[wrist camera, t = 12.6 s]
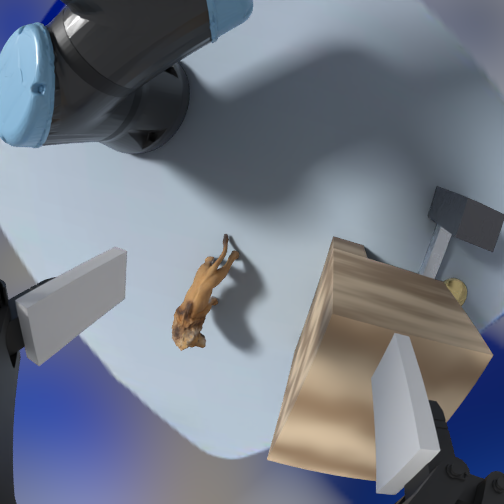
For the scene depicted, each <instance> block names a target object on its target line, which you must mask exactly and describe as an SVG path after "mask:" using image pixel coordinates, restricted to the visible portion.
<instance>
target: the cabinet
mask: <svg viewBox="0 0 504 504" xmlns="http://www.w3.org/2000/svg"><path fill="white" fill-rule="evenodd" d="M394 333H397V334H401V335H405V336H409V338H410V341H411V344H412V347H413V350H414V353H415V356H416V359H417V362H418V366H419V369H420V372H421V376H422V379H423V383H424V386H425V390H426V393H427V397H428V400H432V401H437V403H438V404H439V406H440V407H441V408H442V410H443V412H444V416H445V419H446V421H445V422H447V421H448V420H449V419H450V417H451V416H452V415H453V414H454V412H455V411H456V410H457V408H458V407H459V406H460V404H461V403H462V402H463V400H464V399H465V397H466V396H467V395H468V393H469V392H470V390H471V389H472V387H473V386H474V385H475V383H476V382H477V380H478V378H479V377H480V375H481V374H482V372H483V371H484V369H485V368H486V366H487V364H488V363H489V361H490V360H491V358H492V356H493V354H492V352H491V351H490V349H489V348H488V346H487V344H486V343H485V341H484V340H483V338H482V337H481V335H480V333H479V332H478V330H477V329H476V327H475V326H474V324H473V323H472V321H471V320H470V318H469V317H468V316H467V314H466V313H465V311H464V310H463V308H462V307H461V305H460V304H459V303H458V301H457V300H456V298H455V297H454V296H453V294H452V293H451V292H450V290H449V289H448V287H447V286H446V285H445V283H444V282H442V281H439V280H436V279H433V278H430V277H426V276H423V275H420V274H417V273H414V272H411V271H407V270H404V269H401V268H398V267H395V266H391V265H388V264H385V263H382V262H378V261H375V260H372V259H368V258H367V255H366V252H365V249H364V246H363V245H360V244H357V243H354V242H350V241H347V240H344V239H340V238H337V237H334V236H333V239H332V242H331V246H330V249H329V252H328V255H327V258H326V262H325V265H324V268H323V271H322V274H321V277H320V280H319V283H318V286H317V289H316V292H315V295H314V298H313V301H312V304H311V307H310V310H309V313H308V316H307V319H306V322H305V324H304V327H303V330H302V333H301V336H300V338H299V341H298V344H297V347H296V349H295V352H294V357H293V361H292V365H291V370H290V374H289V378H288V382H287V386H286V390H285V394H284V398H283V402H282V406H281V410H280V414H279V418H278V421H277V425H276V429H275V433H274V436H273V440H272V443H271V447H270V451H269V454H268V458H267V460H270V461H274V462H278V463H281V464H286V465H290V466H294V467H298V468H302V469H307V470H312V471H316V472H321V473H327V474H332V475H338V476H344V477H351V478H357V479H364V480H373V481H376V444H375V423H374V408H373V395H372V384H371V377H372V376H373V374H374V372H375V370H376V368H377V367H378V365H379V363H380V361H381V359H382V357H383V355H384V353H385V351H386V349H387V347H388V345H389V343H390V341H391V339H392V337H393V335H394Z"/></svg>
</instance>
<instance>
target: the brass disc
mask: <svg viewBox="0 0 504 504" xmlns="http://www.w3.org/2000/svg"><path fill="white" fill-rule="evenodd" d="M444 283H445V285H446V286H447V287H448V289H449V290H450V292H451V293H452V294H453V296H454V297H455V298H456V300H457V301H458V303H459V304H460V305H461V306H462V305H463V303H464V302H465V300H466V297H467V288H466V286H465V284H464V283H463V282H462V281H461V280H459V279H457V278H450V279H447V280H445V281H444Z"/></svg>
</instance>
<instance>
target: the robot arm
mask: <svg viewBox="0 0 504 504" xmlns="http://www.w3.org/2000/svg"><path fill="white" fill-rule="evenodd" d="M61 1H62V2H64V3H65V4H66V5H67V6H66V7H65V8H64V9H63V10H62V11H61V12H60V13H59V14H58V15H57V16H56V17H55V18H54V19H53V20H52V21H51V22H50V23H49V24H48V25H47V26H44V25H43V24H41V23H34V24H28V25H27V26H22V27H20V28H19V29H18V30H16V31H15V32H14V33H13V35H12V36H11V37H10V38H9V40H8V41H7V42H6V44H5V46H4V48H3V50H2V52H1V54H0V138H1V139H2V140H3V141H4V142H5V143H8V144H9V145H11V146H14V147H32V148H39V147H41V146H45V145H56V144H68V143H83V142H100V143H102V144H104V145H106V146H108V147H110V148H112V149H114V150H116V151H119V152H122V153H144V152H149V151H152V150H154V149H156V148H158V147H160V146H162V145H163V144H164V143H166V142H167V141H168V140H169V139H170V138H171V137H172V136H173V135H174V134H175V133H176V131H177V130H178V128H179V127H180V125H181V123H182V121H183V119H184V117H185V114H186V111H187V108H188V103H189V84H188V80H187V77H186V74H185V72H184V70H183V68H182V67H181V65H180V64H179V63H178V62H179V61H180V60H182V59H183V58H185V57H187V56H188V55H190V54H192V53H193V52H195V51H197V50H198V49H200V48H202V47H203V46H205V45H207V44H209V43H210V42H212V43H214V42H216V41H217V39H218V37H220V36H221V35H223V34H225V33H226V32H228V31H230V30H231V29H233V28H235V27H237V26H238V25H240V24H242V23H243V22H245V21H246V20H247V19H248V18H249V17H250V15H251V13H252V10H253V0H61ZM126 263H127V251H126V250H123V249H120V248H118V247H114V248H112V249H110V250H108V251H106V252H104V253H102V254H100V255H98V256H96V257H94V258H92V259H90V260H88V261H86V262H84V263H82V264H80V265H78V266H76V267H74V268H73V269H71V270H69V271H67V272H65V273H63V274H61V275H59V276H58V277H54V278H50V279H46V280H44V281H42V282H40V283H38V284H37V285H35V286H33V287H31V288H30V289H27V290H25V291H24V292H22V293H20V294H18V295H16V296H15V297H13V298H11V299H10V300H8V295H7V289H6V284H5V282H4V281H2V280H0V504H16V500H15V496H14V484H13V483H14V482H13V424H14V423H13V422H14V407H15V397H16V387H17V379H18V371H19V364H20V351H19V350H20V349H22V348H23V347H24V346H25V350H26V354H27V358H29V359H30V360H31V361H33V362H34V363H35V364H37V365H38V366H40V365H41V364H43V363H44V362H45V361H46V360H47V359H49V358H50V357H51V356H52V355H53V354H55V353H56V352H57V351H59V350H60V349H61V348H62V347H64V346H65V345H66V344H67V343H69V342H70V341H71V340H72V339H74V338H75V337H76V336H77V335H79V334H80V333H81V332H83V331H84V330H85V329H86V328H88V327H89V326H90V325H92V324H93V323H94V322H95V321H97V320H98V319H99V318H101V317H102V316H103V315H104V314H106V313H107V312H108V311H110V310H111V309H112V308H114V307H115V306H116V305H117V304H119V303H120V302H121V301H123V300H124V299H125V285H126ZM371 384H372V395H373V408H374V423H375V444H376V493H381V494H393V495H395V494H396V493H398V492H399V491H400V490H401V489H402V488H403V487H404V488H405V496H404V497H402V498H401V499H400V500H399V501H397V502H396V503H395V504H504V474H503V473H501V472H498V471H495V472H491V473H490V474H489V475H488V476H487V477H486V478H485V479H483V478H480V477H477V476H474V475H471V474H470V472H469V468H468V467H467V465H466V464H465V463H464V462H463V461H462V460H461V459H459V458H457V457H455V454H454V450H453V446H452V442H451V438H450V434H449V431H448V430H447V429H448V427H447V423H446V422H445V421H446V419H445V416H444V412H443V410H442V408H441V407H440V406H439V404H438V403H437V401H432V400H428V397H427V393H426V390H425V386H424V383H423V379H422V376H421V372H420V369H419V366H418V362H417V359H416V356H415V353H414V350H413V347H412V344H411V341H410V338H409V336H405V335H401V334H397V333H394V335H393V337H392V339H391V341H390V343H389V345H388V347H387V349H386V351H385V353H384V355H383V357H382V359H381V361H380V363H379V365H378V367H377V368H376V370H375V372H374V374H373V376H372V377H371Z"/></svg>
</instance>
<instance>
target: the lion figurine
mask: <svg viewBox="0 0 504 504" xmlns="http://www.w3.org/2000/svg"><path fill="white" fill-rule="evenodd" d="M228 241H229V239H228V235H227V234H224V239H223V245H224V248H223V252H222V254H221V255H220V257H219V258H218V259H217V260H216V262H215V263H214V264H213V262H214V257H207V258H206V259H205V263H204V264H202V265H201V266H200V268H199V269H198V271H197V273H196V276H195V278H194V282H193V284H192V286H191V287H190V289H189V290H188V292H187V294H186V296H185V299H184V302H183V303H182V304H181V306H179V307H178V308H177V309H176V312H175V314H174V321H173V325H172V329H173V330H172V339H173V340H174V342H175V344H176V346H178V347H179V348H180V350H181V351H182V350H184V349H186V348H188V347H194V346H197V347H201V348H204V347H205V343H206V339H205V336H204V335H203V334H201V333H200V331H201V330H202V325H203V323H204V320H205V317H206V314H207V313H208V312H209V311H210V309H211V307H212V305H216V304H218V301H217V299H216V298H215V297H213V296H211V294H212V289H213V288H214V287H216V286H217V285H218V284H219V283H220V282H221V281H222V280H223V279H224V278H225V277H226V275H227V273H228V272H229V270H230V267H231V265H232V263H233V262H234V260H236V259H238V258H239V253H238V252H237V251H232V253H231V255H230V256H229V258H228V260H227V262H226V264H225V265H224V266H223V267H221V268H219V269H217V268H218V266H219V265H220V263H221V262H222V260H223V259H224V257H225V255H226V253H227V247H228V246H227V245H228ZM212 264H213V265H212ZM210 296H211V297H210Z"/></svg>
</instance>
